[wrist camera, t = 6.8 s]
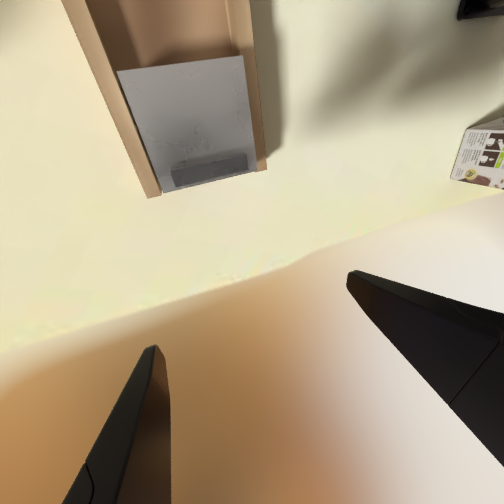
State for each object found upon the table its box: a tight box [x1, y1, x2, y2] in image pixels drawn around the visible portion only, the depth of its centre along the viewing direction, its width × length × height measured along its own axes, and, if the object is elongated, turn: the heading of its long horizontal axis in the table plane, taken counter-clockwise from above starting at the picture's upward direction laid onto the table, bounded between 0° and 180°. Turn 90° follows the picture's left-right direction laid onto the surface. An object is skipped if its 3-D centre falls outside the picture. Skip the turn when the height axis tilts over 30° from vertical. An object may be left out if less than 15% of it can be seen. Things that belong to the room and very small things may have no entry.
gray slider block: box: [116, 55, 258, 193], centre depth 14 cm, size 7×6×4 cm
